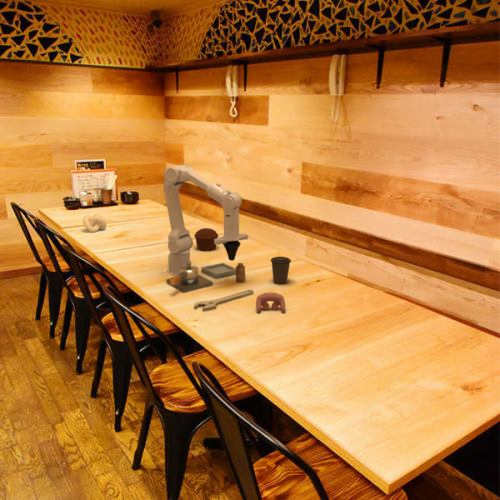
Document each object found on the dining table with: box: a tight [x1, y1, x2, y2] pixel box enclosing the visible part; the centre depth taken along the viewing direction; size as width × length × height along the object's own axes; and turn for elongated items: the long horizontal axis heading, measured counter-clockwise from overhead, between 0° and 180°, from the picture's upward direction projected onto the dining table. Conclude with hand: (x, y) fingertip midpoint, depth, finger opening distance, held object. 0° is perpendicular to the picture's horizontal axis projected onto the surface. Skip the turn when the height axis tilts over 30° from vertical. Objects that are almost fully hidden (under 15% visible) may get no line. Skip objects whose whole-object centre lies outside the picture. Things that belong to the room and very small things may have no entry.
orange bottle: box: [235, 262, 246, 284], centre depth 185 cm, size 4×4×7 cm
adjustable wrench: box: [193, 289, 255, 312], centre depth 166 cm, size 25×6×2 cm, turn 126°
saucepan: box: [169, 260, 199, 286], centre depth 177 cm, size 16×7×7 cm, turn 159°
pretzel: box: [82, 213, 107, 233], centre depth 260 cm, size 11×12×9 cm
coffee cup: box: [270, 255, 292, 285], centre depth 185 cm, size 8×8×10 cm
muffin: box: [193, 227, 219, 252], centre depth 228 cm, size 12×11×10 cm
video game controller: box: [255, 292, 286, 314], centre depth 159 cm, size 10×5×7 cm, turn 93°
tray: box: [201, 262, 236, 280], centre depth 195 cm, size 11×11×2 cm
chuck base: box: [166, 274, 214, 293], centre depth 182 cm, size 13×13×2 cm
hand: (231, 259), depth 181 cm, fingers closed
